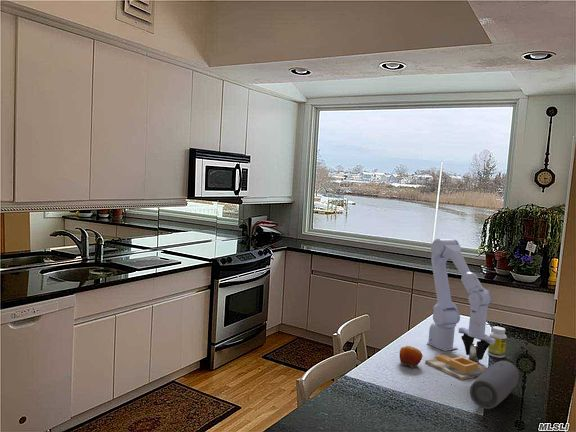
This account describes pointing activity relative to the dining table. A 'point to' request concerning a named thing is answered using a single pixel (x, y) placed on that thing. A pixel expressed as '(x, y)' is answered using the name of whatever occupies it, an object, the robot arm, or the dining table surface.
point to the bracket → (459, 363)
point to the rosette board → (453, 371)
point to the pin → (473, 353)
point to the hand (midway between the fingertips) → (474, 356)
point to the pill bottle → (498, 342)
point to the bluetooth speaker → (494, 384)
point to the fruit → (410, 356)
